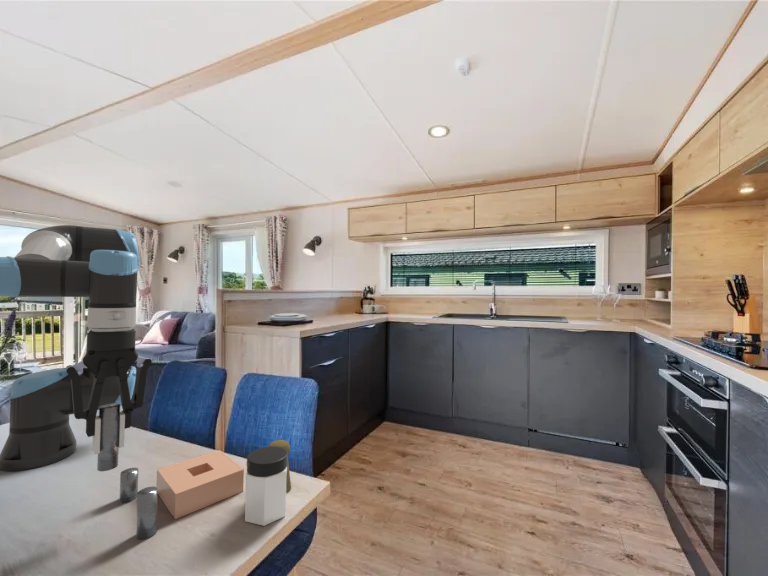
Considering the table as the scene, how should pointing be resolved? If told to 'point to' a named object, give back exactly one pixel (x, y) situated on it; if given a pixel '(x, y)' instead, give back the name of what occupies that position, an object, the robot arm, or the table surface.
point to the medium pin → (146, 513)
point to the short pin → (128, 485)
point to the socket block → (198, 482)
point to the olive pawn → (286, 446)
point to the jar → (266, 485)
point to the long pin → (109, 437)
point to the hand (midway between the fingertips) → (108, 448)
